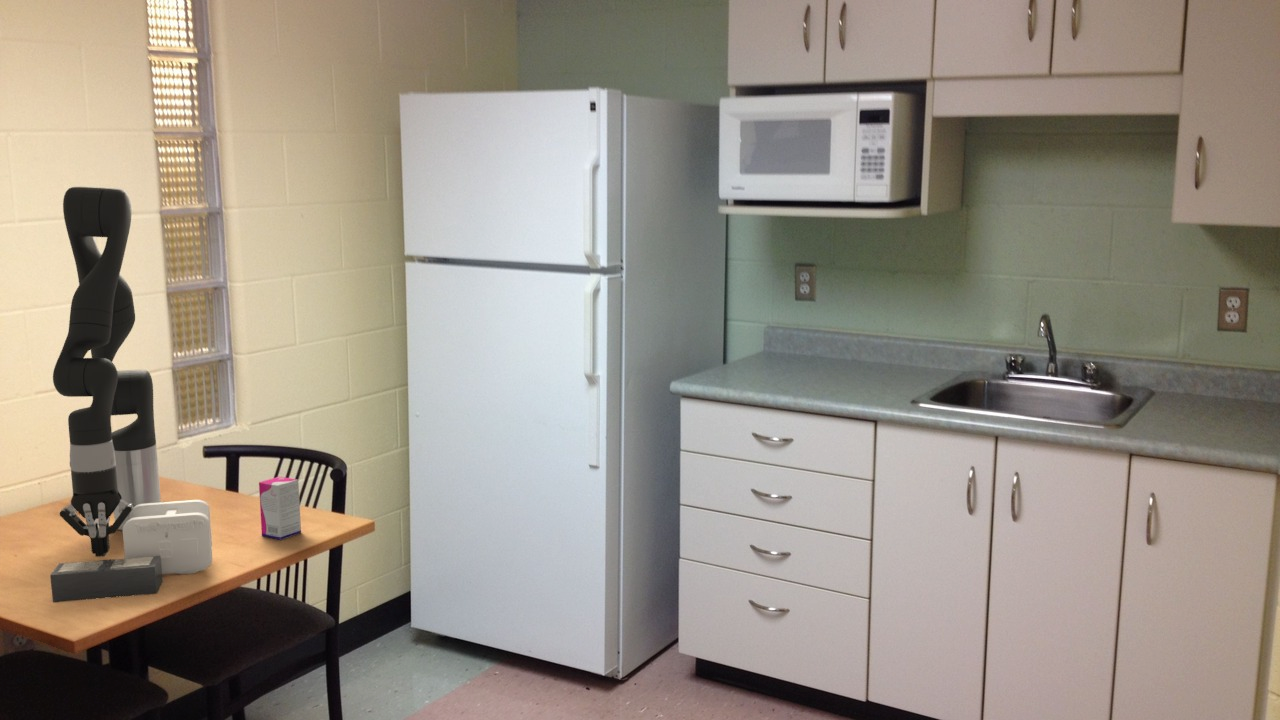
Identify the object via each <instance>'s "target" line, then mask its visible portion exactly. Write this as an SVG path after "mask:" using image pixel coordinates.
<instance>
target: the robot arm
mask: <svg viewBox="0 0 1280 720" xmlns="http://www.w3.org/2000/svg"><path fill="white" fill-rule="evenodd" d="M62 211H63V220H64V224H65V228H66V233H67V235H68V240H69V243H70V246H71V250H72V255H73V258H74V264H75V266H76V272H77V277H78V279H77V280H78V286H77V288H76V290H75V292H74V294H73V295H72V299H71V303H70V313H69V323H68V330H67V331H68V332H67V335H66V338H65V341H64V343H63V345H62V349H61V351H60V353H59V356H58V358H57V360H56V363H55V365H54V369H53V373H52V382H53V386H54V388H55V389H56V392H57V393H58V394H60V395H61V396H63V397H69V398H70V397H71V398H72V397H74V398H75V397H78V398H79V397H80V398H81V397H83V398H84V397H86V398H87V397H92V401H91V404H90V406H88V407H83V408H79V409H75V410H74V411H71V412H70V414H69V415H68V417H67V418H68V420H67V423H68V424H67V425H68V436H69V467H70V474H71V475H70V476H71V485H72V486H71V487H72V497H71V499H70V504H68V505H67V506H65V507H64V508H62V509H61V510H60V512H59V516H60V517H61V519H63V520H64V521H65V522H66V523H67V524H68V525H69V526H70V527H71V528H72V529H73V530H74V531H75V532H76V533H77V534H78V535H79V536H87V537H89V539H90V547H91V548H90V549H91V553H92V555H95V557H96V558H97V557H98V558H99V557H100V558H101V557H105V556H106V555H107V554H108V552H109V551H110V546H111V545H110V535H112V534H115V533H116V532H117V531H118V530H119V531H123V526H124V524H125V523H126V522H127V521H128V520H129V519H130V517H129V514H130V512H131V511H132V509H133V508H134V507H135V506H137V505H139V504H146V503H159V502H162V500H161V499H162V497H161V496H162V495H161V485H160V474H159V462H158V450H157V438H156V430H155V429H156V428H155V414H154V413H155V412H154V384H153V378H152V375H151V373H150V372H149V371H148V370H146V369H127V370H123V369H122V370H117V367H116V365H115V363H113V361H114V359H115V356H116V354H117V352H118V351H119V349H120V348H121V346H122V345H123V343H124V342H125V341H126V339H127V337H129V334H130V333H131V332H132V330H133V328H134V325H135V322H136V312H135V306H134V305H135V304H134V298H133V292H132V289H131V287H130V285H129V283H128V282H127V281H126V280H125V277H123V275H121V274H120V273H121V270H122V265H123V262H124V257H125V252H126V247H127V243H128V238H129V235H130V229H131V223H132V204H131V199H130V196H129V195H128V193H127V192H126V191H125V190H124V189H121V188H114V187H113V188H111V187H95V186H93V187H92V186H72V187H69V188H68V189H67V190H66V191H65V192H64V196H63V200H62ZM95 238H106V242H105V246H104V249H103V252H102V253H101V251H100V249H99V247H98V246H97V244H96V240H95ZM89 351H90V354H91V355H90V356H91V357H85V356H86V355H87V353H88V352H89ZM123 415H125V416H127V415H136V416H137V418H136V419H135V420H134V421H132V422H131V423H130V424H128V425H126V426H124V427H121V428H119V429H117V430H114V431H112V422H111V420H112V419H111V418H112V416H123ZM77 512H78V513H79V515H81V517H82V518H84V519H85V522H84V521H83V519H81V518H80V517H79V516H78V515H77ZM112 514H113V516H114V517H113V518H114V522H113V523H112V524H111V525H110V516H112Z"/></svg>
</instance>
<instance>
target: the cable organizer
mask: <svg viewBox="0 0 1280 720" xmlns="http://www.w3.org/2000/svg"><path fill="white" fill-rule="evenodd" d="M129 517H130V519H129V520H128V521H127V522H126V523H125V524H124V526H123V530H122V537H123V548H124V549H123V550H124V551H123V552H124V558H137V557H150V556H161V567H162V575H169V574H170V575H171V574H178V575H190V574H196V573H198V572H202V571H204V570H206V569H208V568H210V566H211V564H212V562H213V548H212V547H213V540H212V538H213V537H212V528H211V527H212V525H211V511H210V505H209V504H208V503H207V502H206V501H204V500H202V499H190V500H177V501H175V500H174V501H163V502H162V501H161V502H159V503H146V504H139V505H137V506H135V507H134V508H133V509H132V511H131V512H130V514H129Z"/></svg>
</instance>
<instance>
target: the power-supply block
mask: <svg viewBox="0 0 1280 720" xmlns="http://www.w3.org/2000/svg"><path fill="white" fill-rule="evenodd" d="M49 576H50V585H51V586H50V587H51V595H52V603H61V602H63V603H64V602H74V601H75V602H76V601H84V600H85V601H86V599H87V600H97V599H96V598H99V599H106V598H105V597H111V598H120V597H119V596H121V598H122V596H123V597H132V595H134V596H143V595H157V594H158V592H159V590H160V588H161V586H162V584H163V583H164V581H163V580H164V579H163V574H162V567H161V556H150V557H137V558H125V557H124V558H114V559H113V558H112V559H103V560H102V559H101V560H99V559H98V560H87V561H79V562H78V561H75V562H62V563H58V564H57V566H56V567H55V568H54V570H53V571H52V572H51V574H50V575H49ZM116 596H118V597H116Z"/></svg>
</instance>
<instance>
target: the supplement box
mask: <svg viewBox="0 0 1280 720" xmlns="http://www.w3.org/2000/svg"><path fill="white" fill-rule="evenodd" d="M299 487H300V486H299V479H295V478H291V477H284V476H278V477H277V476H276V477H273V478H270V479H267V480H263V481H259V482H258V488H259V489H258V491H259V492H258V493H259V506H260V507H259V509H260V524H261V525H260V527H261V529H260V530H261V537H266V538H269V539H273V540H274V539H275V540H278V541H283V540H285V539H288V538H290V537H293V536H296V535H298V534H301V533H302V522H301V521H302V520H301V506H300V504H301V503H300V490H299V489H300V488H299Z"/></svg>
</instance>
